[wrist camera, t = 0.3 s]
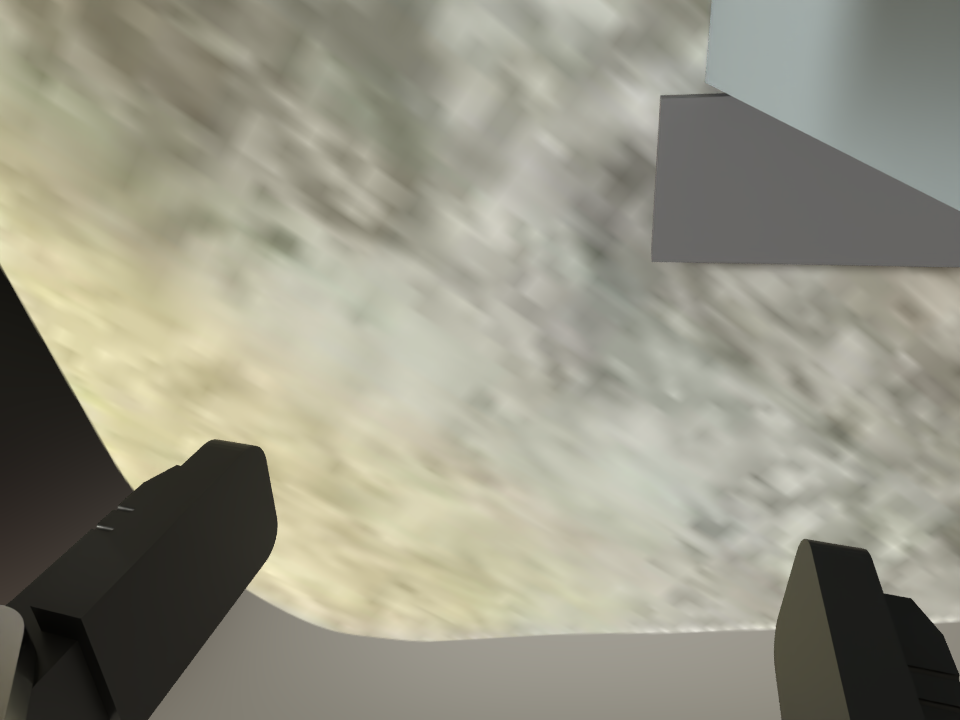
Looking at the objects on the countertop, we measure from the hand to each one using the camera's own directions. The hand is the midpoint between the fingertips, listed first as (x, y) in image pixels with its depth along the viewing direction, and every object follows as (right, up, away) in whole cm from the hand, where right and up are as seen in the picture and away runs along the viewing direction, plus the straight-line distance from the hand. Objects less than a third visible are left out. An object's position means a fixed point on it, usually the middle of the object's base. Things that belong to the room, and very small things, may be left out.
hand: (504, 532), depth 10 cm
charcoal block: (+15, +12, +22) cm, 29 cm away
